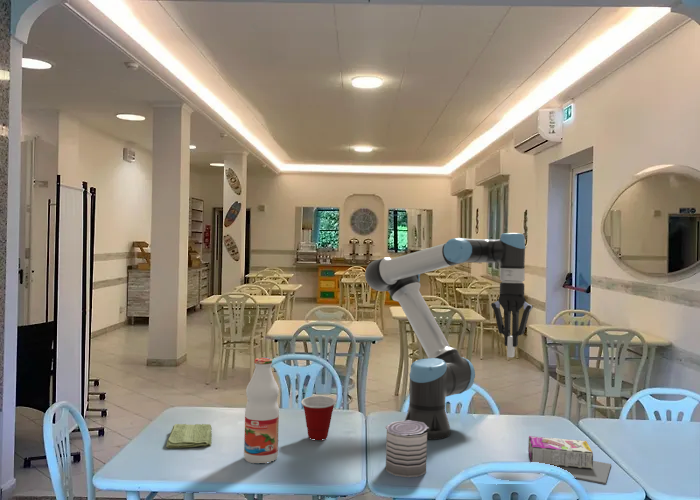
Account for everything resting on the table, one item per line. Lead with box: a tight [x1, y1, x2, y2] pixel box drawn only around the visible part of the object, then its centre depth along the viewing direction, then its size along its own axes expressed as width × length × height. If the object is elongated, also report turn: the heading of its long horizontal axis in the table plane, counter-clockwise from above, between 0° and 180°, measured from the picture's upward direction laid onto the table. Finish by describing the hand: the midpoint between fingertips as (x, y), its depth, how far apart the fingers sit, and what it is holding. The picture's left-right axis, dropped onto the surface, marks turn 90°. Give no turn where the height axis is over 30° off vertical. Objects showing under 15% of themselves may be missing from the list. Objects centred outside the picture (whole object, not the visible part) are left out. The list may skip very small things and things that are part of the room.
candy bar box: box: [527, 435, 594, 469], centre depth 172 cm, size 11×5×16 cm
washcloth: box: [166, 423, 213, 449], centre depth 184 cm, size 13×18×3 cm
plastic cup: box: [300, 395, 337, 441], centre depth 188 cm, size 11×11×12 cm
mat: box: [557, 460, 612, 485], centre depth 168 cm, size 20×16×1 cm
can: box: [384, 419, 429, 478], centre depth 163 cm, size 11×11×12 cm
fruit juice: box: [243, 357, 280, 464], centre depth 169 cm, size 9×9×28 cm
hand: (510, 356), depth 190 cm, fingers closed
